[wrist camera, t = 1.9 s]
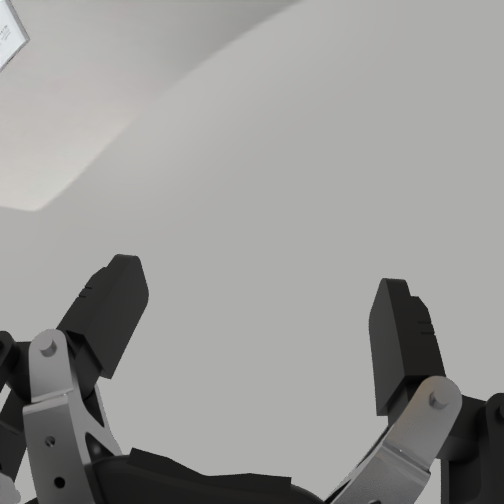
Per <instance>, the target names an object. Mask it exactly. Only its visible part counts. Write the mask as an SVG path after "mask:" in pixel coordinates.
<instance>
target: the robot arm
mask: <svg viewBox="0 0 504 504" xmlns="http://www.w3.org/2000/svg"><path fill="white" fill-rule="evenodd" d="M148 297H149V292H148V287H147V284H146V280H145V276H144V272H143V269H142V265H141V261H140V259H139V258H138V257H137V256H131V255H122V254H117V255H115V256H114V258H113V259H112V260H111V262H110V263H109V265H108V266H107V267H103V268H102V269H100V270H99V271H98V272H97V273H95V274H94V275H93V276H92V277H91V278H90V280H89V281H88V282H87V284H86V285H85V288H84V289H82V291H81V292H80V294H79V297H77V298H76V299H75V301H74V302H73V304H72V305H71V307H70V308H69V310H68V311H67V313H66V314H65V316H64V317H63V319H62V321H61V322H60V324H59V325H58V327H57V328H56V329H49V330H45V331H43V332H41V333H39V334H38V335H37V336H36V337H35V338H34V339H33V340H32V341H31V342H15V341H14V339H13V338H12V336H11V335H10V334H9V333H8V332H6V331H0V393H1V391H2V389H3V387H4V385H5V383H6V384H7V385H8V387H9V388H10V389H11V391H10V394H9V395H8V398H7V400H6V402H5V404H4V406H3V409H2V411H1V413H0V504H17V503H19V502H20V499H21V496H20V494H19V492H18V490H16V489H15V486H14V482H15V479H16V476H17V473H18V470H19V467H20V464H21V461H22V458H23V455H24V453H25V450H26V447H27V451H28V456H29V462H30V467H31V472H32V477H33V482H34V486H35V490H36V494H37V497H36V498H34V499H32V500H30V501H28V502H27V503H25V504H414V502H415V501H416V500H417V498H418V496H419V495H420V494H421V492H422V491H423V489H424V487H425V486H426V484H427V482H428V480H429V478H430V475H431V473H430V471H429V468H430V466H431V464H432V462H433V461H434V459H435V458H437V459H441V504H504V393H497V394H495V395H493V396H492V397H491V398H490V399H489V400H488V401H483V400H478V399H475V398H471V397H467V396H464V395H462V394H461V392H460V390H459V388H458V387H457V385H456V384H455V383H454V382H453V381H451V380H450V379H448V378H446V374H445V370H444V367H443V362H442V358H441V354H440V351H439V346H438V343H437V339H436V336H435V335H434V333H435V332H434V328H433V325H432V324H431V318H430V315H429V312H428V308H427V307H426V306H425V305H424V303H423V302H422V301H421V299H420V298H419V297H415V296H411V295H410V292H409V289H408V285H407V283H406V281H405V280H401V279H387V278H383V279H382V280H381V282H380V285H379V288H378V291H377V294H376V297H375V300H374V303H373V306H372V309H371V312H370V317H369V334H370V343H371V352H372V361H373V372H374V383H375V395H376V411H377V416H388V426H387V427H386V428H385V430H384V431H383V433H382V434H381V435H380V436H379V438H378V439H377V441H376V442H375V443H374V444H373V446H372V447H371V448H370V449H369V451H368V452H367V453H366V455H365V456H364V457H363V458H362V459H361V461H360V462H359V463H358V464H357V465H356V467H355V468H354V469H353V470H352V471H351V472H350V473H349V475H348V476H347V477H346V478H345V479H344V480H343V481H342V482H341V483H340V484H339V485H338V486H337V487H336V488H335V489H334V490H333V491H332V492H331V494H330V495H329V496H328V497H327V498H326V499H325V500H324V501H323V500H321V499H320V498H319V497H317V496H316V495H314V494H313V493H311V492H309V491H308V490H305V489H303V488H301V487H299V486H295V485H292V484H291V477H281V476H269V475H260V474H252V473H247V474H235V475H219V476H206V475H202V474H200V473H198V472H196V471H193V470H191V469H189V468H187V467H185V466H183V465H181V464H179V463H177V462H175V461H173V460H172V459H170V458H167V457H164V456H160V455H156V454H153V453H149V452H146V451H142V450H139V449H136V448H132V449H131V452H130V455H123V454H122V452H121V450H120V448H119V446H118V444H117V442H116V440H115V439H114V437H113V435H112V433H111V431H110V428H109V424H108V421H107V418H106V414H105V411H104V407H103V404H102V400H101V396H100V392H99V388H98V386H97V384H96V382H97V380H98V377H99V376H101V377H104V378H108V379H111V378H112V376H113V374H114V372H115V370H116V367H117V365H118V363H119V361H120V359H121V357H122V354H123V353H124V350H125V348H126V346H127V344H128V342H129V340H130V338H131V336H132V334H133V332H134V330H135V328H136V326H137V324H138V322H139V320H140V318H141V316H142V314H143V312H144V310H145V308H146V306H147V303H148Z"/></svg>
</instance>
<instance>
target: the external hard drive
mask: <svg viewBox="0 0 504 504" xmlns="http://www.w3.org/2000/svg"><path fill="white" fill-rule="evenodd" d="M29 40H30V39H29V37H28V35H27V33H26V31H25V29H24V28H23V26H22V24H21V22H20V20H19V18H18V16H17V14H16V12H15V10H14V8H13V6H12V4H11V3H10V1H9V0H0V71H1V70H2V69H3V68H4V67H5V66H6V64H7V63H8V61H9V60H10V59H11V58H12V57H13V56H15V54H16V53H17V52H18V51H19V50H20V49H21V48H22V47H23V46H24V45H25V44H26V43H27V42H28V41H29Z"/></svg>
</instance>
